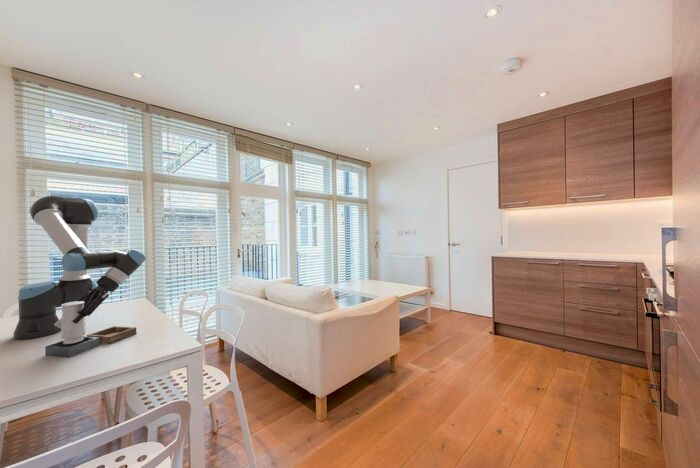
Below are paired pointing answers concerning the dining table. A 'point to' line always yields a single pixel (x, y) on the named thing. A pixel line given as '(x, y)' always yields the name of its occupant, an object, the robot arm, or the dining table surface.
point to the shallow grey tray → (71, 347)
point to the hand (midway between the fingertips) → (61, 328)
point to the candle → (68, 313)
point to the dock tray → (113, 334)
